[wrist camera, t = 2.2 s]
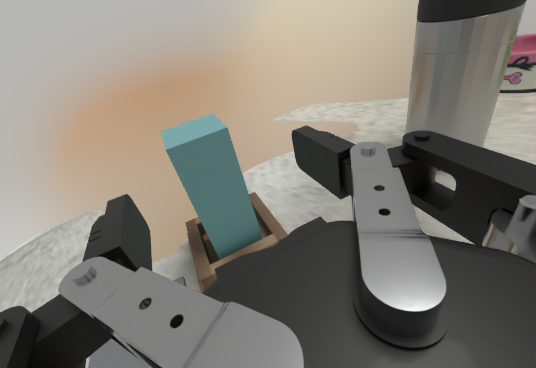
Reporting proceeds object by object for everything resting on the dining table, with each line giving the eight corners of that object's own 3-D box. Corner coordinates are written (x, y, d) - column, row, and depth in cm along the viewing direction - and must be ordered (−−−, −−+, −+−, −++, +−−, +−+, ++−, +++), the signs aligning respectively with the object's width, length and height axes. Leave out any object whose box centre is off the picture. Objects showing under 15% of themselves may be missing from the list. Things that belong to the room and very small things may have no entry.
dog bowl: (443, 91, 55) (449, 57, 51) (474, 66, 63) (481, 35, 60) (569, 97, 42) (589, 52, 38) (586, 65, 50) (605, 25, 47)
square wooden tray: (261, 205, 35) (256, 188, 34) (299, 255, 27) (295, 236, 25) (190, 238, 33) (180, 222, 31) (207, 304, 25) (196, 286, 23)
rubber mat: (184, 279, 28) (182, 276, 28) (200, 361, 21) (198, 358, 20) (98, 321, 26) (95, 319, 25) (83, 430, 18) (78, 428, 18)
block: (249, 219, 32) (212, 113, 24) (264, 244, 28) (227, 127, 20) (211, 237, 31) (161, 131, 23) (222, 265, 27) (165, 149, 19)
